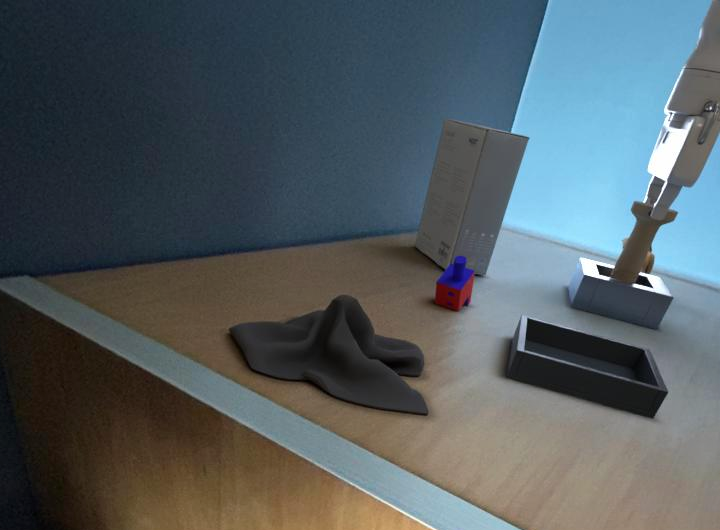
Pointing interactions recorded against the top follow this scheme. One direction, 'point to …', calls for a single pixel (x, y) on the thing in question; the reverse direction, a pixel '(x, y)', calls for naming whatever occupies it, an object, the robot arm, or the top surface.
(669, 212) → the handle
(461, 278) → the toy building block
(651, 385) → the basin
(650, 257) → the lion figurine
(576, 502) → the top surface
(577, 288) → the block
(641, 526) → the top surface
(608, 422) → the top surface
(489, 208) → the hard drive box
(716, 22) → the robot arm
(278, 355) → the cloth
